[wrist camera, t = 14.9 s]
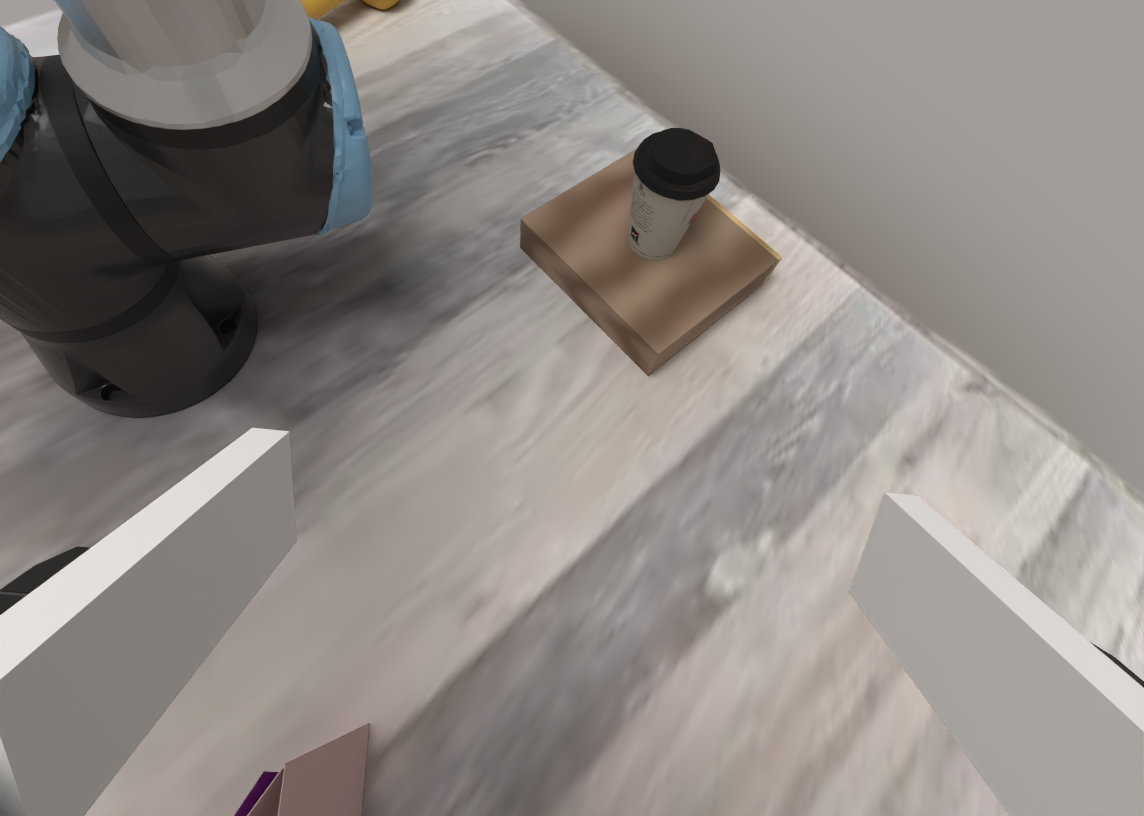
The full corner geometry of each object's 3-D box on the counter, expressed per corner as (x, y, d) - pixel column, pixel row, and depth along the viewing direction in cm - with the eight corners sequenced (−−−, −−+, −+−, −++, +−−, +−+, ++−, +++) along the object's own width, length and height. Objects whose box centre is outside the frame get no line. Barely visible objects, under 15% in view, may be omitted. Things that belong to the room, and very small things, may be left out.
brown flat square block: (520, 247, 54) (520, 218, 51) (640, 172, 60) (648, 141, 56) (648, 376, 50) (658, 354, 46) (764, 282, 55) (782, 256, 52)
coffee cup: (614, 267, 49) (637, 180, 40) (614, 207, 52) (635, 113, 43) (691, 274, 50) (731, 189, 41) (687, 214, 53) (723, 122, 44)
